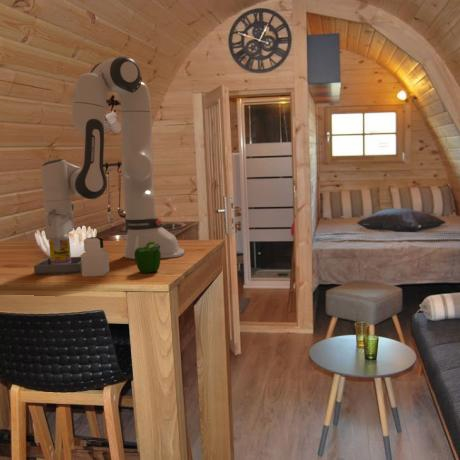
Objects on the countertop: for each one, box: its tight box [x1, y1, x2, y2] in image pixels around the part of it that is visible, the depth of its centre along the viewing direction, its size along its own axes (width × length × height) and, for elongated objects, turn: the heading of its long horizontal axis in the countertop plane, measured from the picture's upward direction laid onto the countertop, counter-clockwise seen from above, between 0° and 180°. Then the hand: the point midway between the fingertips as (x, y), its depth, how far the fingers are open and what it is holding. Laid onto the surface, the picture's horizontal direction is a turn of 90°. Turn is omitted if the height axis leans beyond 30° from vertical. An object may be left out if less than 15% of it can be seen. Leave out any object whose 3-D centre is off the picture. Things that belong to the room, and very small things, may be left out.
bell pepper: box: [134, 241, 162, 274], centre depth 178 cm, size 8×8×10 cm
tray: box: [33, 256, 82, 276], centre depth 188 cm, size 15×13×3 cm
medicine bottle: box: [80, 236, 110, 278], centre depth 178 cm, size 7×7×12 cm
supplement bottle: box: [48, 229, 72, 265], centre depth 187 cm, size 7×7×13 cm
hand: (61, 248), depth 187 cm, fingers closed on supplement bottle, 7 cm apart
